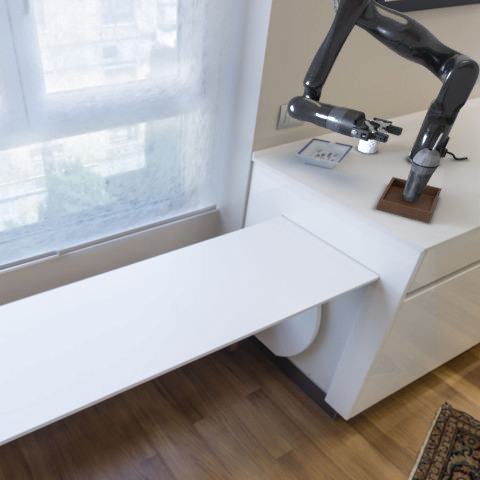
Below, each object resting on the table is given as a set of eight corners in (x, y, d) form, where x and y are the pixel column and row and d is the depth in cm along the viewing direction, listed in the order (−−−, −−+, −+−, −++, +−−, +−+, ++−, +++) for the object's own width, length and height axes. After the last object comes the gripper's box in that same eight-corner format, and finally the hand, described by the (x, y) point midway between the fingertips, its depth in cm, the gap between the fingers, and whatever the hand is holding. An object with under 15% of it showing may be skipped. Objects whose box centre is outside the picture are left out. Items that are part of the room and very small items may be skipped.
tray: (389, 185, 144) (392, 176, 142) (437, 197, 138) (441, 188, 136) (375, 208, 132) (379, 199, 130) (427, 222, 126) (432, 213, 124)
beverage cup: (392, 193, 138) (419, 128, 125) (414, 193, 139) (443, 128, 125) (404, 205, 133) (433, 138, 119) (426, 204, 133) (458, 137, 120)
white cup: (355, 152, 164) (364, 124, 157) (356, 144, 169) (365, 117, 162) (377, 155, 162) (387, 127, 155) (378, 148, 167) (387, 120, 160)
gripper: (336, 113, 132) (387, 128, 123) (360, 103, 139) (410, 117, 130) (329, 139, 137) (378, 154, 128) (353, 128, 144) (401, 142, 135)
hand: (394, 135), depth 129 cm, fingers open, 8 cm apart
